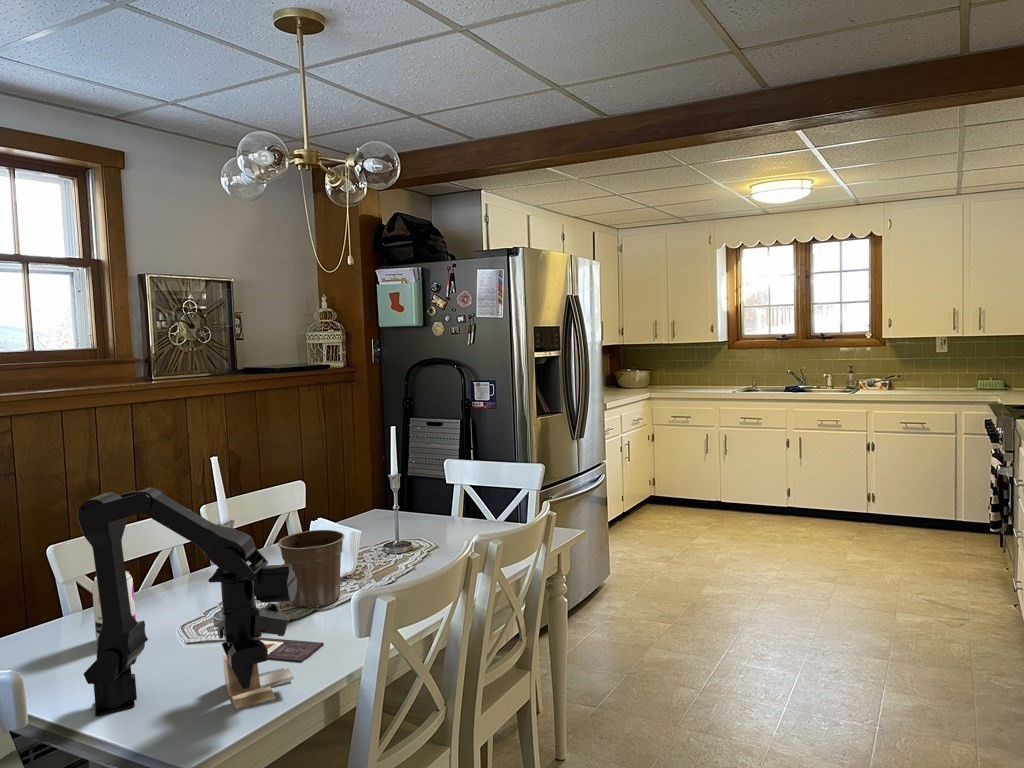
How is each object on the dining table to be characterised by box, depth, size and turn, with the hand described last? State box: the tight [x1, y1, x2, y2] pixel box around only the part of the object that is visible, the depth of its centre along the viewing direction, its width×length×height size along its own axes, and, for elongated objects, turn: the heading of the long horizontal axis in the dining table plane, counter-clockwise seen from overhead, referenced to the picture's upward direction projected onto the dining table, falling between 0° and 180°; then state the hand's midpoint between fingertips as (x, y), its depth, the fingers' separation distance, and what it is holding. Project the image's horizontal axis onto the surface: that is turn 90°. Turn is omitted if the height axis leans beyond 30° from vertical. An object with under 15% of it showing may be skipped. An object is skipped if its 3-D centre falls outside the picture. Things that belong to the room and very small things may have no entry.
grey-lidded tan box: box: [227, 663, 295, 697], centre depth 145 cm, size 11×4×5 cm, turn 118°
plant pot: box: [277, 529, 345, 608], centre depth 196 cm, size 16×16×16 cm
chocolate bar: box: [255, 637, 324, 663], centre depth 166 cm, size 9×1×18 cm
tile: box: [222, 654, 232, 698], centre depth 148 cm, size 2×6×6 cm, turn 29°
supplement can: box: [91, 570, 137, 643], centre depth 175 cm, size 8×8×15 cm
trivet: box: [259, 667, 292, 689], centre depth 151 cm, size 9×7×1 cm
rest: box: [231, 686, 276, 710], centre depth 145 cm, size 7×5×1 cm
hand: (244, 684), depth 144 cm, fingers closed on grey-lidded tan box, 3 cm apart
